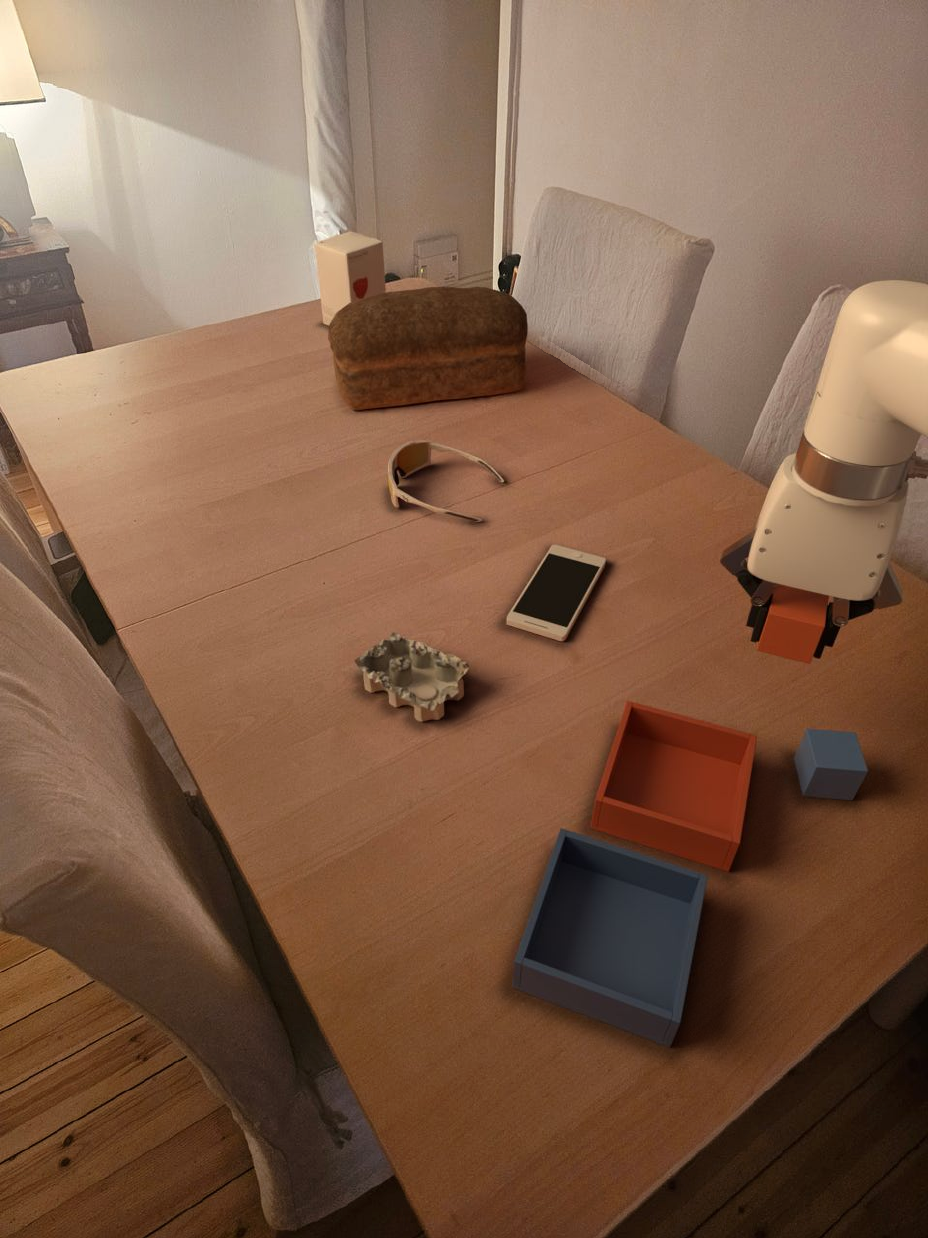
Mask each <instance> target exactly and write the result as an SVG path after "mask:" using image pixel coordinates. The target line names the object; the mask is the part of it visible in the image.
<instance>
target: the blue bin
mask: <svg viewBox="0 0 928 1238" xmlns="http://www.w3.org/2000/svg"><path fill="white" fill-rule="evenodd" d="M708 877H709V875H708V874H705V873H702V872H699V871H697V870H693V869H690V868H687V867H685V866H681V865H679V864H674V863H672V862H669V861H666V860H663V859H659V858H656V857H653V856H649V855H646V854H644V853H640V852H637V851H634V850H631V849H628V848H625V847H621V846H618V845H616V844H613V843H609V842H606V841H603V840H599V839H598V838H597V839H596V838H594V837H590V836H587V835H585V834H581V833H578V832H575V831H571V830H569V829H565V828H562V827H560V829H559V832H558V835H557V837H556V840H555V842H554V845H553V849H552V851H551V854H550V857H549V860H548V863H547V866H546V869H545V872H544V874H543V877H542V880H541V883H540V885H539V888H538V892H537V895H536V897H535V900H534V903H533V906H532V908H531V912H530V914H529V917H528V920H527V922H526V926H525V929H524V933H523V934H522V938H521V941H520V943H519V945H518V949H517V952H516V954H515V958H514V960H513V971H512V973H513V974H512V984H511V985H512V986H511V987H512V988H513V989H515V990H518V991H521V992H523V993H525V994H528V995H531V996H534V997H536V998H538V999H541V1000H544V1001H546V1002H549V1003H551V1004H553V1005H556V1006H559V1007H562V1008H565V1009H567V1010H569V1011H572V1012H575V1013H578V1014H581V1015H584V1016H585V1017H587V1018H591V1019H594V1020H596V1021H599V1022H602V1023H604V1024H607V1025H610V1026H612V1027H615V1028H618V1029H620V1030H623V1031H624V1032H628V1033H630V1034H633V1035H636V1036H639V1037H640V1038H644V1039H646V1040H648V1041H652V1042H654V1043H656V1044H659V1045H662V1046H664V1047H667V1048H671V1046H672V1043H673V1042H674V1039H675V1036H676V1035H677V1032H678V1030H679V1027H680V1026H681V1022H682V1017H683V1012H684V1006H685V1001H686V997H687V996H686V995H687V989H688V985H689V979H690V974H691V969H692V963H693V957H694V953H695V948H696V941H697V937H698V931H699V927H700V926H699V925H700V921H701V916H702V915H701V914H702V910H703V904H704V900H705V899H704V898H705V893H706V888H707V883H708Z"/></svg>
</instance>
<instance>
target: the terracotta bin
mask: <svg viewBox="0 0 928 1238" xmlns="http://www.w3.org/2000/svg"><path fill="white" fill-rule="evenodd" d="M757 740H758V735H757V734H753V733H750V732H746V731H742V730H738V729H734V728H731V727H727V726H724V725H719V724H715V723H712V722H708V721H706V720H705V721H704V720H700V719H697V718H694V717H690V716H686V715H683V714H679V713H675V712H672V711H668V710H664V709H661V708H656V707H652V706H649V705H645V704H641V703H638V702H633V701H631V700H627V701H626V703H625V706H624V709H623V712H622V715H621V718H620V721H619V724H618V728H617V731H616V734H615V737H614V740H613V744H612V746H611V749H610V753H609V755H608V758H607V762H606V765H605V768H604V771H603V775H602V777H601V781H600V784H599V787H598V789H597V792H596V796H595V800H594V804H593V805H594V806H593V811H592V817H591V823H590V829H592V830H594V831H598V832H601V833H604V834H607V835H609V836H614V837H616V838H620V839H622V840H626V841H629V842H632V843H635V844H639V845H642V846H644V847H647V848H651V849H654V850H656V851H657V850H658V851H661V852H664V853H667V854H670V855H673V856H676V857H680V858H682V859H685V860H689V861H692V862H695V863H698V864H702V865H704V866H707V867H711V868H714V869H717V870H721V871H724V872H727V873H729V872H730V869H731V867H732V865H733V863H734V859H735V857H736V854H737V852H738V849H739V847H740V844H741V841H742V840H741V839H742V838H741V837H742V833H743V828H744V822H745V814H746V809H747V802H748V795H749V789H750V785H751V783H750V782H751V778H752V777H751V776H752V770H753V764H754V758H755V754H756V753H755V752H756V747H757Z"/></svg>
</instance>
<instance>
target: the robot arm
mask: <svg viewBox="0 0 928 1238" xmlns="http://www.w3.org/2000/svg"><path fill="white" fill-rule="evenodd" d="M922 436H923V437H924V438H927V439H928V284H927V283H924V282H923V283H922V282H919V281H913V280H912V281H911V280H901V279H888V280H877V281H871V282H869V283H865V284H863V285H860V286H859V287H857V288H856V289H854V290H853V291H852V292H851V293H850V294H849V295H848V296H847V297H846V298H845V300H844V302H843V303H842V305H841V308H840V310H839V313H838V315H837V318H836V321H835V325H834V328H833V332H832V335H831V338H830V342H829V345H828V349H827V352H826V355H825V358H824V362H823V364H822V368H821V371H820V374H819V378H818V381H817V384H816V388H815V390H814V395H813V398H812V401H811V404H810V407H809V410H808V414H807V417H806V421H805V423H804V427H803V430H802V434H801V437H800V440H799V443H798V447H797V450H796V452H795V453H792V454H789V455H787V456H786V457H785V458H784V459H783V461H782V463H780V466H779V467H778V470H777V471H776V474H775V476H774V478H773V480H772V482H771V484H770V486H769V490H768V491H767V494H766V496H765V500H764V502H763V505H762V507H761V510H760V513H759V516H758V519H757V522H756V525H755V528H754V530H752V531H751V532H749V533H747V534H746V535H744V536H743V537H742V538H740V539H739V540H737V541H736V542H734V543H733V544H731V545H729V546H727V547H726V548H725V549H723V550H722V552H721V553H722V554H721V557H720V560H719V563H720V565H721V566H722V567H723V568H725V570H727V572H729V573H730V574H731V575H732V576H733V577H735V578H736V579H737V582H738V584H739V585H740V586H741V587H742V589H743V590H744V591H745V592H746V594H747V595H748V596H749V597H750V604H751V606H750V609H749V612H748V616H747V619H746V624H745V627H749V628H751V629H752V633H751V637H750V642H751V643H755V644H756V643H757V642H759V640H760V637H761V634H762V631H763V628H764V625H765V622H766V618H767V615H768V612H769V608H770V603H771V598H772V594H773V592H774V590H775V589H776V587H777V586H778V585H779V584H782V585H786V586H790V587H794V588H798V589H803V590H807V591H811V592H816V593H820V594H824V595H829V597H833V598H832V601H828V607H827V615H826V623H825V628H824V630H823V633H822V635H821V638H820V641H819V643H818V646H817V648H816V651H815V653H814V656H813V658H815V659H818V660H820V659H821V657H822V655H823V652H824V650H825V648H826V647H829V648H833V647H834V645H835V643H836V640H837V637H838V635H839V632H840V630H841V627H845V626H847V625H848V623H849V621H851V620H854V619H856V618H859V617H862V616H866V615H868V614H871V613H872V612H874V610H881V609H887V608H891V607H895V606H899V605H901V604H902V603H903V594H904V590H903V588H902V586H901V584H900V581H899V579H898V577H897V575H896V573H895V571H894V569H893V567H892V565H891V563H890V560H891V558H892V554H893V551H894V548H895V545H896V542H897V539H898V537H899V532H900V528H901V524H902V520H903V517H904V511H905V508H906V504H907V499H908V493H909V481H908V480H909V479H913V480H915V479H916V478H920V479H923V480H924V479H925V480H926V479H928V459H925V458H922V456H919V455H917V451H916V448H917V446H918V443H919V441H920V439H921V437H922ZM747 558H748V559H747Z"/></svg>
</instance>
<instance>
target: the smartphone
mask: <svg viewBox="0 0 928 1238" xmlns="http://www.w3.org/2000/svg"><path fill="white" fill-rule="evenodd" d="M606 562H607V558H606V557H604V556H600V555H596V554H593V553H589V552H585V551H581V550H579V549H578V550H577V549H574V548H571V547H566V546H562V545H559V544H556V543H555V544H552V545H551V546H550V548H549V549H548V551H547V552H546V554H545V555H544V557H543V559H542V560H541V562H540V563H539V564H538V566H537V568H536V570H535V572H534V573H533V574H532V576H531V577H530V579H529V580H528V582H527V584H526V586H525V587H524V589H523V590H522V591H521V593H520V595H519V596H518V598H517V600H516V602H515V603H514V604H513V606H512V608H511V609H510V611H509V612H508V614H507V615H506V623H505V624H506V625H507V626H510V627H513V628H515V629H519V630H522V631H526V632H530V633H533V634H535V635H540V636H542V637H546V638H549V639H553V640H556V641H559V642H565V640H567V638H568V637H569V634H570V632H571V630H572V628H573V626H574V625H575V623H576V622H577V619H578V617H579V615H580V613H581V612H582V610H583V608H584V606H585V604H586V602H587V601H588V599H589V597H590V595H591V593H592V591H593V589H594V587H595V585H596V584H597V582H598V580H599V578H600V576H601V574H602V573H603V570H604V569H605V567H606Z"/></svg>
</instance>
